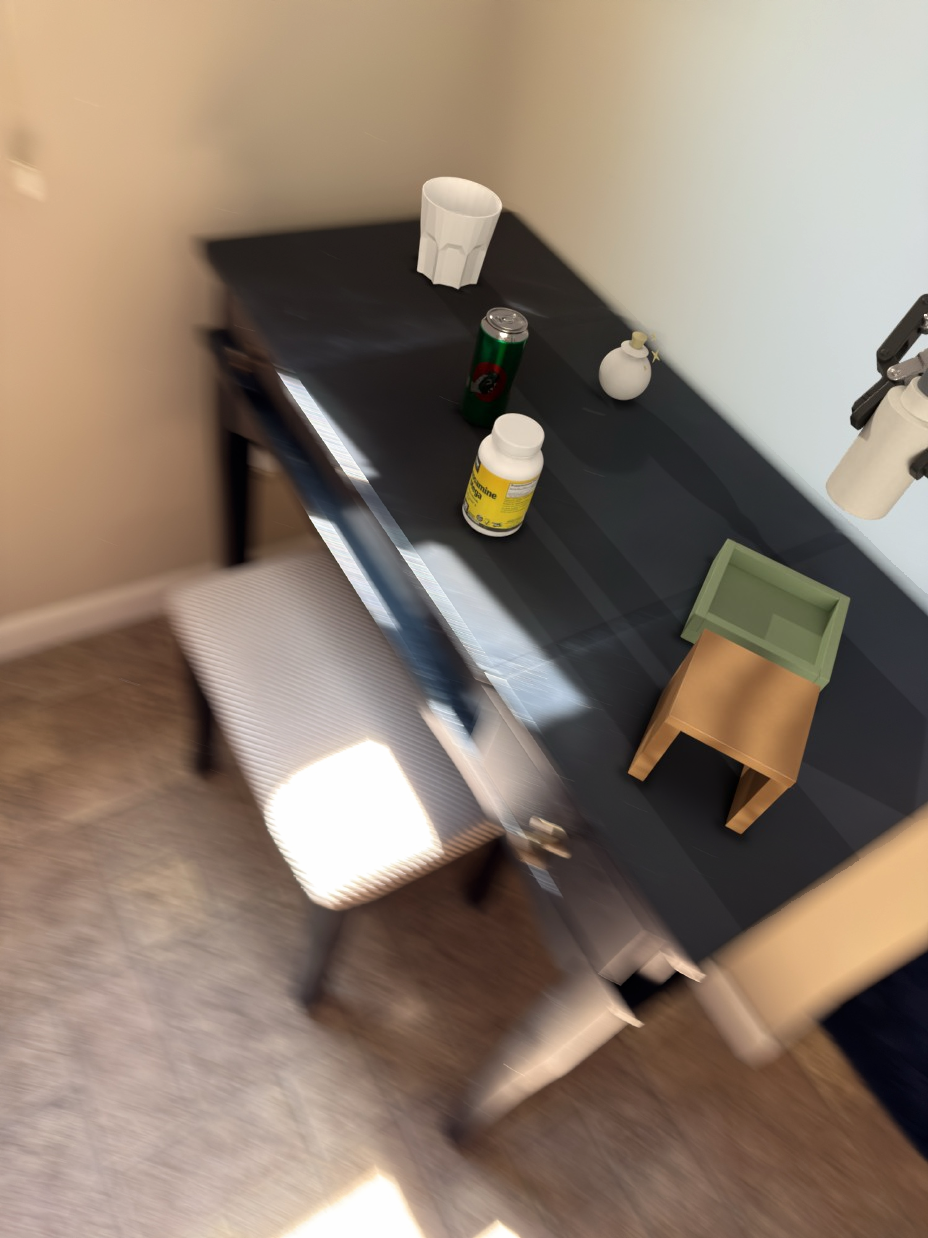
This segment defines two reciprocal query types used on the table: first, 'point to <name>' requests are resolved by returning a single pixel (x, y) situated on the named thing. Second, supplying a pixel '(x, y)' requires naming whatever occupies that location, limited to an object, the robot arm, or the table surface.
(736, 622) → the sage green tray
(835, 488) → the white bottle
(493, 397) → the soda can
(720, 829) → the table surface
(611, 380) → the round potion bottle
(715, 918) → the table surface
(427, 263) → the cup
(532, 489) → the pill bottle
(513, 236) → the table surface
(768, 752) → the wooden stand
